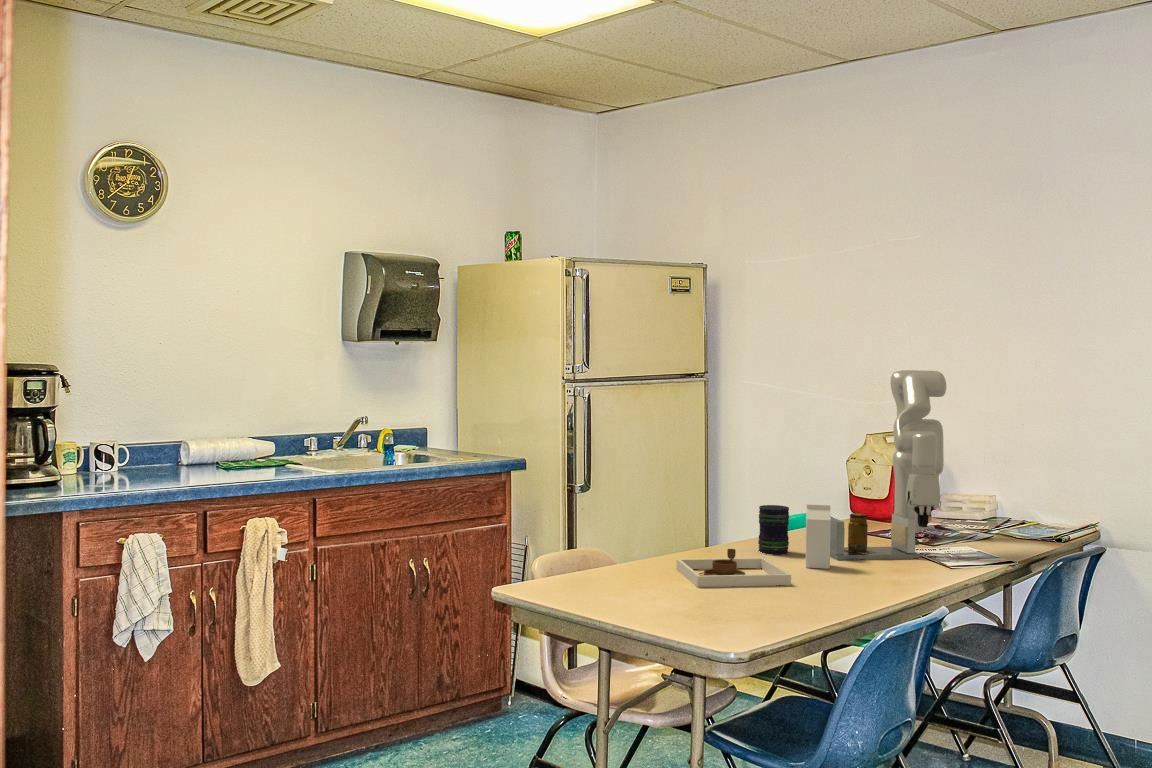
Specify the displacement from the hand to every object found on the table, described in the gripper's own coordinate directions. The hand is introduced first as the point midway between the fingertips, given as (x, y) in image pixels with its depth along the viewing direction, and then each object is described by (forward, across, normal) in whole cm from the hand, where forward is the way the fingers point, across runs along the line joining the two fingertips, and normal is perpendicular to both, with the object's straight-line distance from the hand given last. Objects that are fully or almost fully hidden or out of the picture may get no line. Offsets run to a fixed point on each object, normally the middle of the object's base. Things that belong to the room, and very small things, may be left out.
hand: (922, 526), depth 346 cm
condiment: (+8, +22, 0) cm, 23 cm away
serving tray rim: (+10, +73, +29) cm, 79 cm away
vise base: (+9, +18, 0) cm, 20 cm away
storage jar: (+10, +48, -8) cm, 50 cm away
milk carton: (+10, +42, +16) cm, 46 cm away
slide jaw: (+7, +5, 0) cm, 9 cm away
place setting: (+10, +73, +29) cm, 79 cm away
